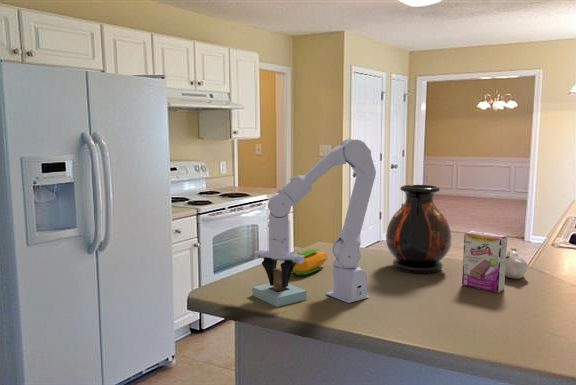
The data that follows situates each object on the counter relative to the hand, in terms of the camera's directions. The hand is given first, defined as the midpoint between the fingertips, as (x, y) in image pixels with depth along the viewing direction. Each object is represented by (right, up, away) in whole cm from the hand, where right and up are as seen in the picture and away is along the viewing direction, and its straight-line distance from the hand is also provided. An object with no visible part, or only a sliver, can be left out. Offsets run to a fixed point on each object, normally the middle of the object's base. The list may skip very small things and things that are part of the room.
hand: (279, 285), depth 142 cm
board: (0, -3, 0) cm, 3 cm away
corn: (+10, -1, +27) cm, 29 cm away
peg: (0, -2, 0) cm, 2 cm away
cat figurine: (+74, -1, +21) cm, 77 cm away
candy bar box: (+61, -3, +10) cm, 61 cm away
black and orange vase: (+47, 0, +31) cm, 56 cm away
